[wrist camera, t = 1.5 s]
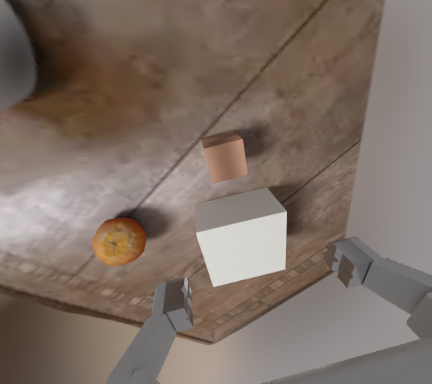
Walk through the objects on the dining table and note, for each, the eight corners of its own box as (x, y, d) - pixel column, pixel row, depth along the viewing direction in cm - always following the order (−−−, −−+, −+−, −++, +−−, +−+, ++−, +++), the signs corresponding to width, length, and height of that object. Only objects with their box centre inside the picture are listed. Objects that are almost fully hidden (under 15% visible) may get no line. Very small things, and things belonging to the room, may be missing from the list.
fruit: (113, 257, 34) (86, 275, 26) (109, 217, 34) (82, 223, 26) (155, 251, 35) (142, 267, 27) (151, 212, 35) (137, 217, 27)
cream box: (266, 186, 33) (286, 211, 26) (268, 239, 40) (285, 269, 33) (194, 203, 32) (195, 232, 26) (209, 253, 40) (213, 286, 33)
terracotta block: (232, 130, 27) (242, 138, 22) (237, 160, 29) (247, 174, 24) (201, 138, 27) (203, 148, 22) (208, 167, 29) (212, 183, 24)
